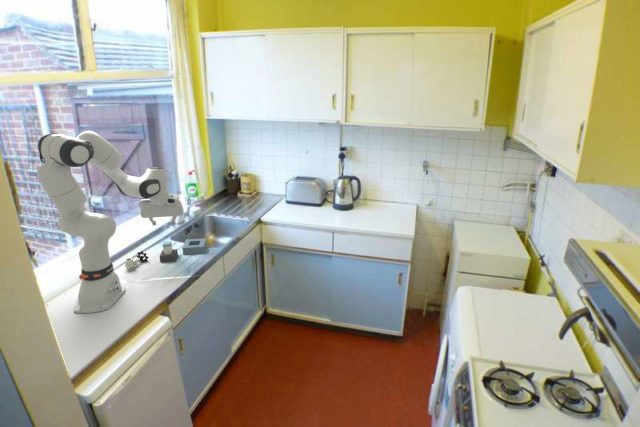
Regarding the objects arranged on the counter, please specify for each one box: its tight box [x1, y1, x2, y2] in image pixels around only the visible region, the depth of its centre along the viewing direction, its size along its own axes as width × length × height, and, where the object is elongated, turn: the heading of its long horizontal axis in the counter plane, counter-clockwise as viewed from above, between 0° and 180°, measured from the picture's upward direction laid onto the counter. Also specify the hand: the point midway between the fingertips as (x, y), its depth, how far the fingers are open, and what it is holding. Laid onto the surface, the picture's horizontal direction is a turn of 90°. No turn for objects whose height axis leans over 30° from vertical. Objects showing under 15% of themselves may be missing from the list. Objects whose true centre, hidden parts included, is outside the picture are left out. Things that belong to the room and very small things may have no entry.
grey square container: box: [159, 248, 179, 263], centre depth 204 cm, size 7×7×4 cm
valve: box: [124, 250, 149, 272], centre depth 197 cm, size 7×7×12 cm
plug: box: [162, 241, 174, 255], centre depth 203 cm, size 4×4×9 cm
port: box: [181, 237, 208, 256], centre depth 214 cm, size 11×11×5 cm
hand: (164, 224), depth 198 cm, fingers open, 8 cm apart
